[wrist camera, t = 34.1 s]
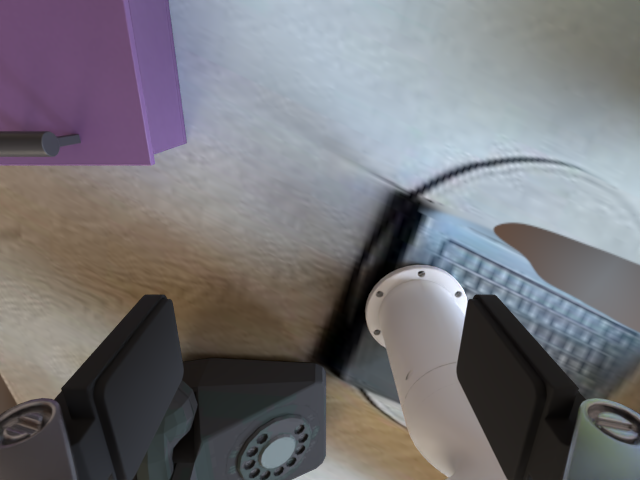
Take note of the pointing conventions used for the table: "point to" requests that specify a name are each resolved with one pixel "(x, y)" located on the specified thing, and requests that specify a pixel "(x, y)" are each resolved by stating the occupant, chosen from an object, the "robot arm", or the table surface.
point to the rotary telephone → (241, 422)
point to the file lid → (70, 85)
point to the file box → (158, 72)
